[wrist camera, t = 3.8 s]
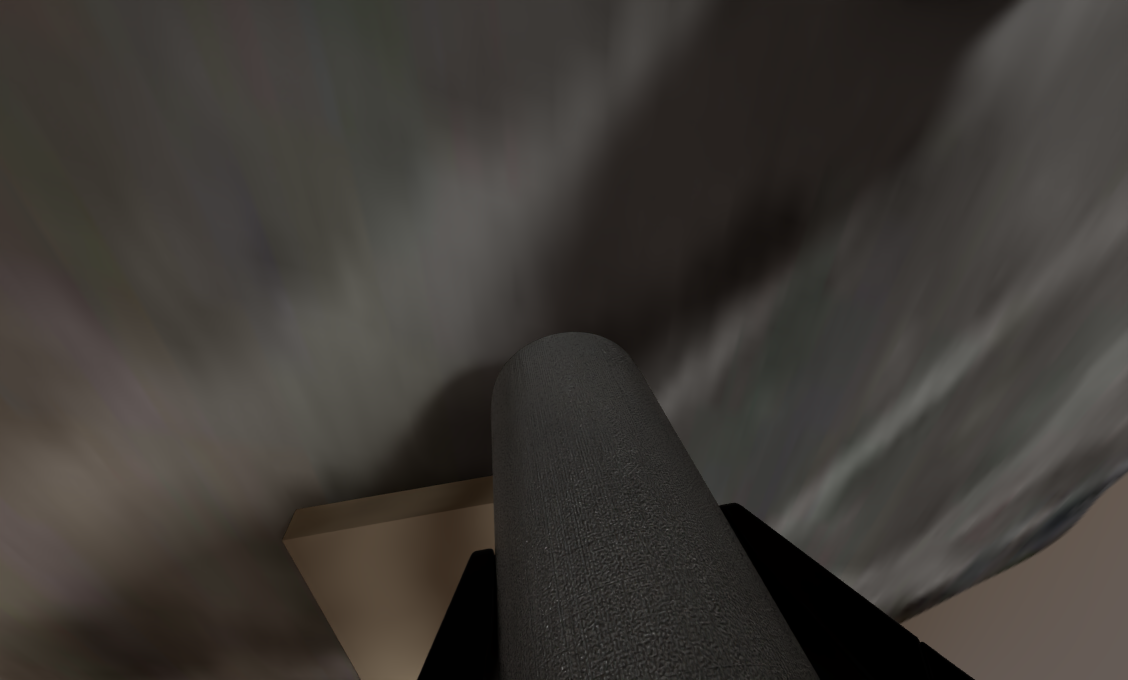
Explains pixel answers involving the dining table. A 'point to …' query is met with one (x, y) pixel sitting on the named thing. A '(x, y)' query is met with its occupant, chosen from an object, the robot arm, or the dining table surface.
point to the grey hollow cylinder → (615, 534)
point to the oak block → (391, 568)
